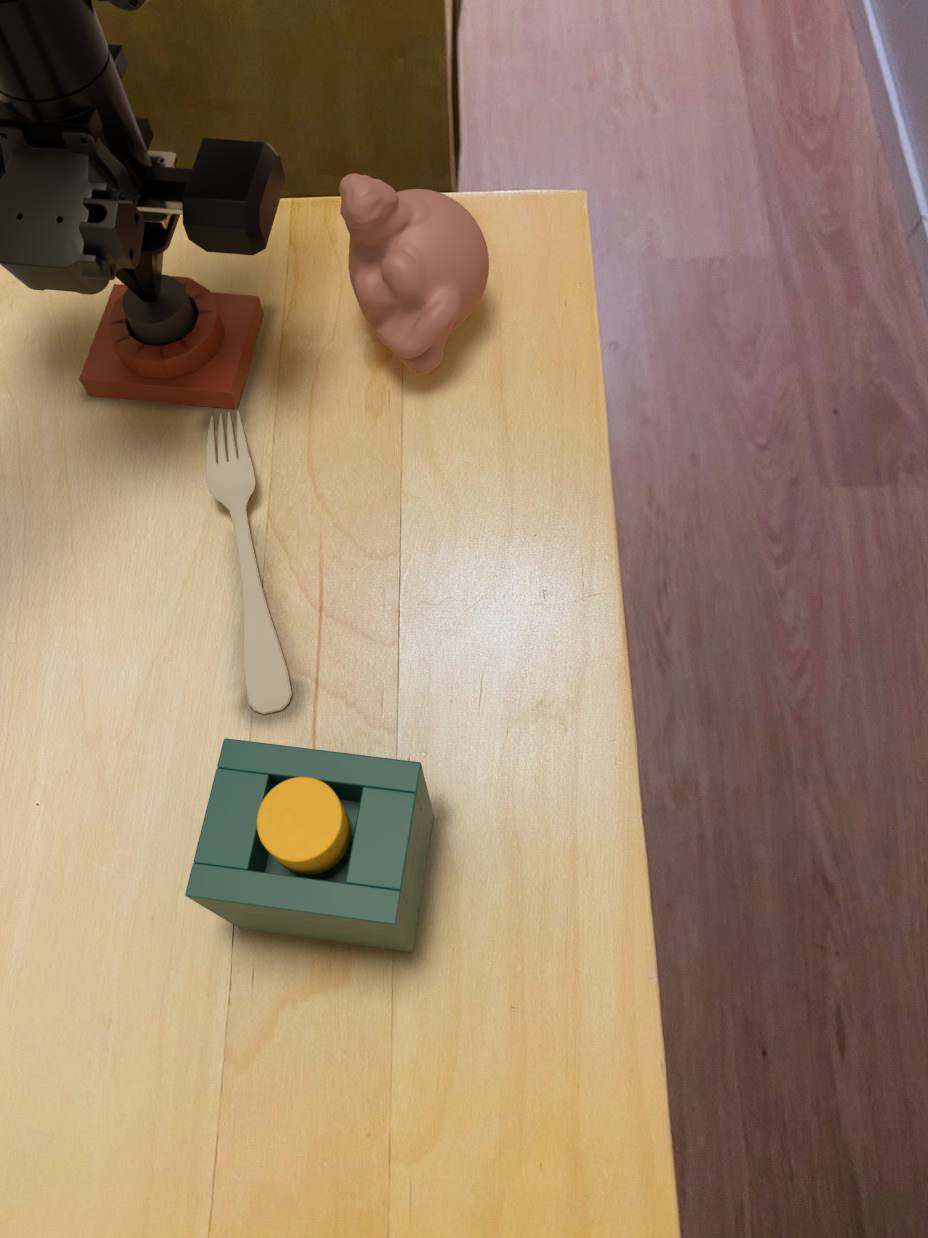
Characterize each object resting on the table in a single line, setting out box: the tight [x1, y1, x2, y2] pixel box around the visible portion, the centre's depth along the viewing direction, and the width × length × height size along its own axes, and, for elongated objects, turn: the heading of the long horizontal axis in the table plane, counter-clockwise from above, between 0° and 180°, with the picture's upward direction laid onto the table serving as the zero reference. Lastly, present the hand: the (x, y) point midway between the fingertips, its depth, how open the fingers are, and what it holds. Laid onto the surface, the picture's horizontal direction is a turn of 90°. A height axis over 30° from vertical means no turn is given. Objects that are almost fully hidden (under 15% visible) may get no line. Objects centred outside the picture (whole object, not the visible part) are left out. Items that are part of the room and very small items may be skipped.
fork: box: [205, 409, 293, 715], centre depth 59 cm, size 3×21×3 cm, turn 13°
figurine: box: [338, 173, 490, 374], centre depth 61 cm, size 9×11×12 cm
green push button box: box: [184, 737, 435, 953], centre depth 47 cm, size 9×7×10 cm
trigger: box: [257, 777, 351, 875], centre depth 43 cm, size 4×4×3 cm
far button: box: [122, 274, 195, 346], centre depth 62 cm, size 4×4×2 cm
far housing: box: [78, 275, 265, 410], centre depth 65 cm, size 10×8×4 cm
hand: (152, 297), depth 61 cm, fingers closed
